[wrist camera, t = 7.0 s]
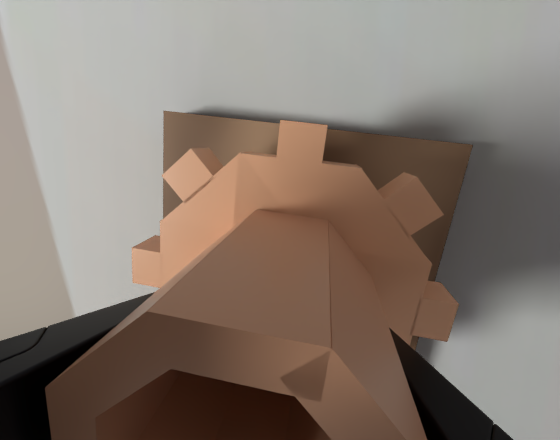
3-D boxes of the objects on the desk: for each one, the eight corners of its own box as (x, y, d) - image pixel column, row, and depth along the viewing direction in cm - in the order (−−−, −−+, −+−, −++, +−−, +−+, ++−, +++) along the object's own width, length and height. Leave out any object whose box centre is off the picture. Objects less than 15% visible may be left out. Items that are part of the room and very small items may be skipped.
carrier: (456, 144, 13) (562, 145, 7) (366, 483, 18) (384, 636, 13) (179, 114, 14) (82, 94, 9) (174, 435, 20) (112, 553, 14)
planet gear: (480, 144, 9) (1010, 145, 2) (402, 416, 12) (508, 800, 5) (154, 108, 11) (-205, 34, 3) (155, 362, 14) (-36, 605, 6)
